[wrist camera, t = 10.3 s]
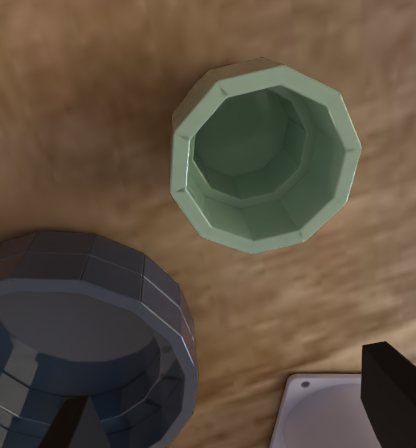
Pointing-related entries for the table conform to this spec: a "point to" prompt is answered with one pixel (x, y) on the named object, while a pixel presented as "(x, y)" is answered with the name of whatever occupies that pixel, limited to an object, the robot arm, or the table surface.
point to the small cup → (261, 155)
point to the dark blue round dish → (92, 340)
